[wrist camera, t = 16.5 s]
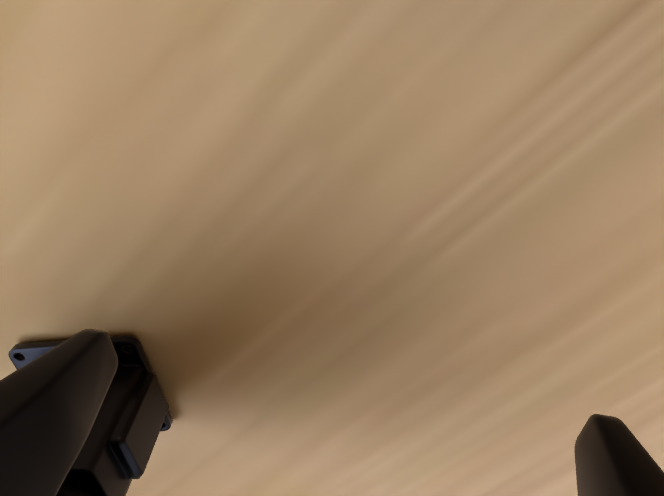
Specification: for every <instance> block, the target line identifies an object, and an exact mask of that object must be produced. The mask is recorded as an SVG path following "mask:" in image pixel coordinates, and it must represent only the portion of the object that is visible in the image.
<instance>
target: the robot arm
mask: <svg viewBox="0 0 664 496" xmlns="http://www.w3.org/2000/svg"><path fill="white" fill-rule="evenodd" d="M127 345H129V346H131V347H129V346H127ZM9 357H10V359H11V361H12V362H13V364H14V365H15V367H16V369H17V371H15V372H13V373H12V374H10V375H9V376H7V377H5V378H4V379H2V380H0V496H126V493H127V491H128V488H129V486H130V483H131V481H132V479H139V478H140V477H141V476H142V474H143V473H144V471H145V468H146V465H147V463H148V460H149V458H150V455H151V453H152V450H153V447H154V445H155V442H156V440H157V437H158V434H159V432H160V431H166V430H168V429H169V428H170V426H171V424H172V421H173V420H172V416H171V414H170V412H169V406H168V403H167V401H166V399H165V396H164V394H163V392H162V389H161V387H160V384H159V382H158V380H157V377H156V375H155V374H154V373H153V372H152V369H151V367H150V365H149V362H148V360H147V358H146V355H145V353H144V350H143V348H142V346H141V343H140V342H139V340H138V339H137V338H135V337H133V336H127V335H126V336H113V337H110V336H109V334H108V333H107V332H105V331H100V330H94V329H85V330H83V331H81V332H79V333H77V334H76V335H74V336H72V337H71V338H69V339H67V340H61V341H48V342H35V343H21V344H16V345H15V346H14V347H13V348H12V349H11V351H10V352H9ZM575 463H576V476H577V489H578V496H664V472H663V471H662V470H661V468H660V467H659V466H658V465H657V463H656V462H655V461H654V460H653V458H652V457H651V456H650V455H649V454H648V452H647V451H646V450H645V449H644V447H643V446H642V445H641V444H640V442H639V441H638V440H637V439H636V438H635V436H634V435H633V434H632V433H631V431H630V430H629V429H628V428H627V426H626V425H625V424H624V423H623V422H622V421H621V420H620V419H618V418H616V417H612V416H606V415H600V414H594V415H592V416H590V418H589V419H588V421H587V422H586V424H585V426H584V427H583V429H582V431H581V432H580V434H579V436H578V437H577V440H576V443H575Z"/></svg>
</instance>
